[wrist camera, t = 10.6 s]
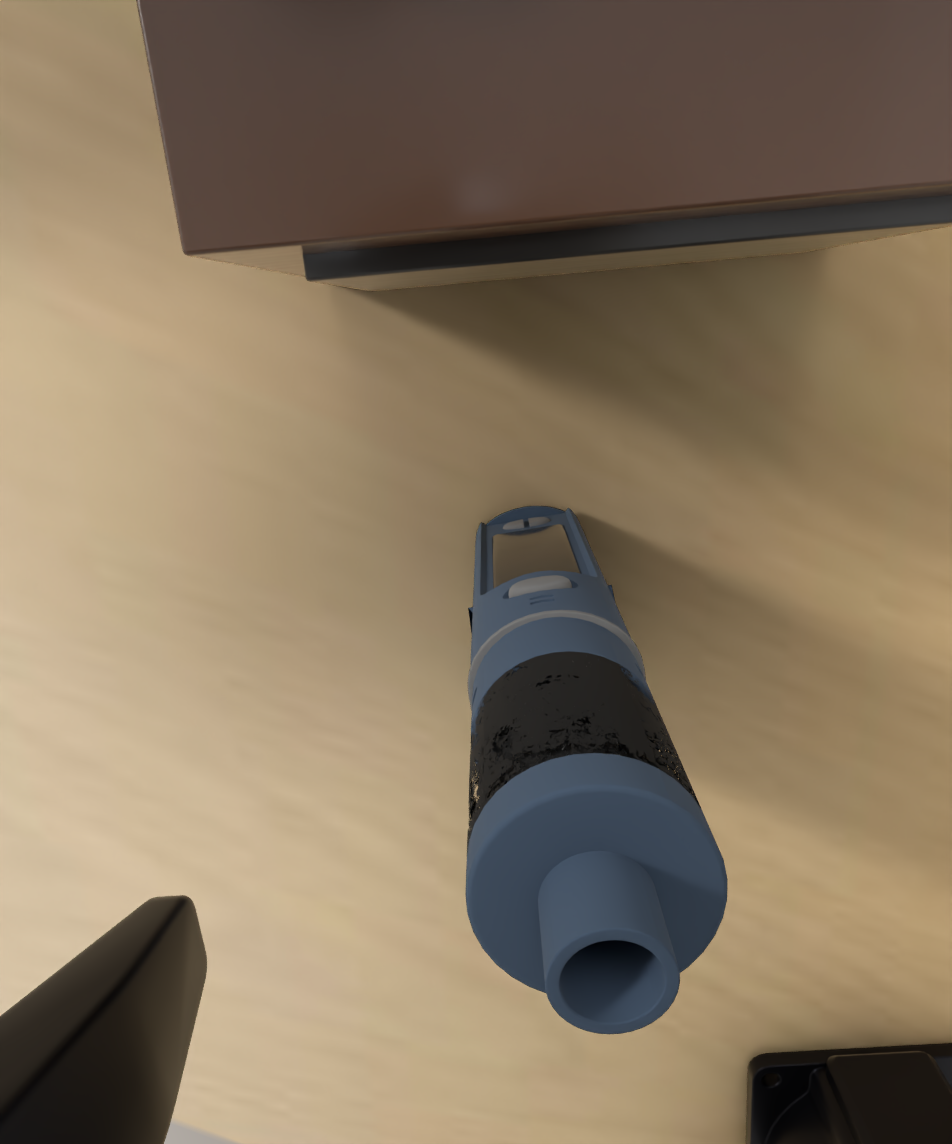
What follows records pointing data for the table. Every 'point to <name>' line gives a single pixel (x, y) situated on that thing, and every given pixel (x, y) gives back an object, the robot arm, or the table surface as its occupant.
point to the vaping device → (577, 789)
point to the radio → (546, 132)
